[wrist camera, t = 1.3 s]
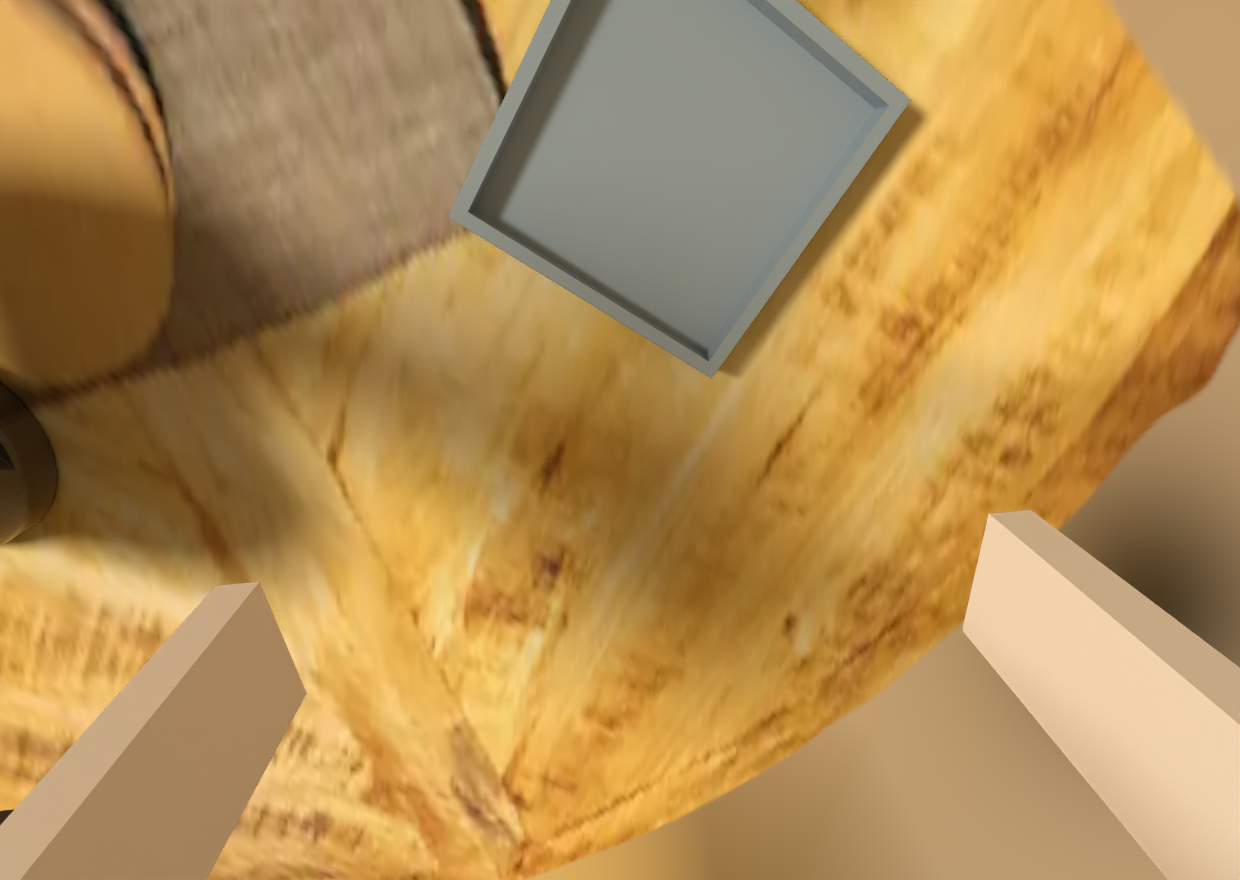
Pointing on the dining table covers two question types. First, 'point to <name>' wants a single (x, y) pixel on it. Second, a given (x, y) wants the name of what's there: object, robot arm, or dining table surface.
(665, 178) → the tray
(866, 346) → the dining table surface
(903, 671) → the dining table surface
